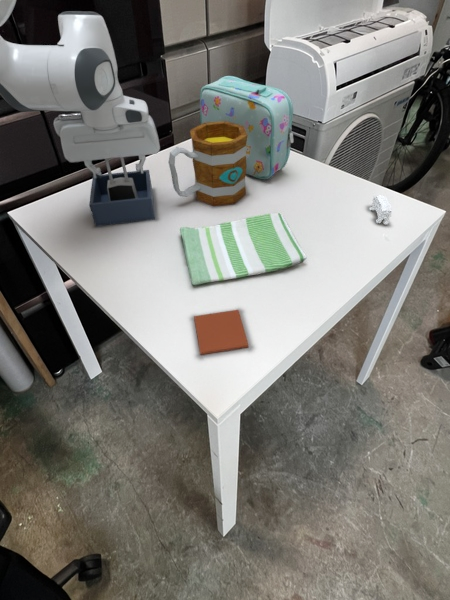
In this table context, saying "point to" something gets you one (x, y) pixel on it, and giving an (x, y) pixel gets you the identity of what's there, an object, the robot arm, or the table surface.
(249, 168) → the lunch box
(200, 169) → the mug
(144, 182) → the basket
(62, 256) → the table surface
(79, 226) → the table surface
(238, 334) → the mat
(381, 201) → the figurine
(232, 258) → the dish towel
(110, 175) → the padlock
